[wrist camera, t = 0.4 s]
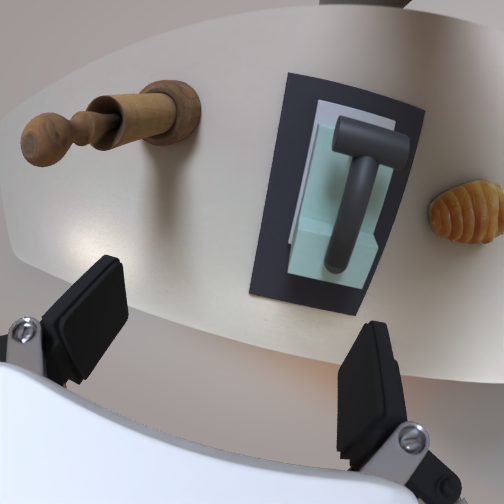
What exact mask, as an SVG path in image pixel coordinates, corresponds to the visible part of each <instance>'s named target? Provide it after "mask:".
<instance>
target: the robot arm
mask: <svg viewBox="0 0 504 504" xmlns="http://www.w3.org/2000/svg"><path fill="white" fill-rule="evenodd" d="M128 315H129V314H128V306H127V298H126V290H125V282H124V273H123V265H122V263H120V260H119V259H118V258H116V257H112V256H109V255H104V256H103V257H101V258H100V259H99V260H98V261H97V262H96V263H95V264H94V265H93V266H92V267H91V268H90V269H89V270H88V271H87V272H86V273H84V274H83V275H82V276H81V277H80V278H79V279H78V280H77V281H76V282H75V283H74V284H73V285H72V286H71V287H70V288H69V289H68V290H67V291H66V292H65V293H64V294H63V295H62V296H61V297H60V298H59V299H58V300H57V301H56V303H54V305H53V306H52V307H51V308H50V309H49V310H48V311H47V312H46V313H45V314H44V315H43V316H42V320H41V321H40V322H39V321H38V320H36V319H35V318H32V317H24V318H20V319H19V320H17V321H15V322H14V323H13V324H12V326H11V327H10V329H9V332H8V334H7V335H3V336H0V504H468V503H467V501H466V500H465V498H463V499H461V498H460V495H461V490H462V486H461V482H460V479H459V478H458V476H457V475H456V474H455V473H454V472H452V471H451V470H450V469H449V468H448V467H447V466H446V465H445V464H443V463H442V462H441V461H440V460H439V459H438V458H437V457H436V456H435V455H433V454H432V453H431V452H430V451H429V450H428V449H429V446H430V438H429V434H428V432H427V431H426V429H425V428H424V427H423V426H422V425H420V424H419V423H416V422H412V421H407V414H406V407H405V401H404V394H403V388H402V382H401V377H400V371H399V366H398V363H397V361H396V360H394V357H393V352H392V347H391V342H390V338H389V333H388V329H387V325H386V323H383V322H378V321H373V320H372V321H370V322H369V324H367V323H365V324H364V326H363V327H362V329H361V331H360V333H359V335H358V337H357V339H356V340H355V342H354V344H353V346H352V348H351V349H350V351H349V353H348V355H347V356H346V358H345V360H344V362H343V363H342V365H341V367H340V369H339V372H338V418H337V451H339V452H341V453H340V459H350V466H351V468H349V469H348V470H347V471H345V470H336V469H325V468H317V467H309V466H301V465H295V464H288V463H282V462H275V461H270V460H265V459H259V458H254V457H250V456H245V455H240V454H236V453H232V452H228V451H224V450H220V449H216V448H212V447H208V446H205V445H202V444H198V443H195V442H192V441H189V440H185V439H182V438H179V437H176V436H173V435H170V434H167V433H165V432H161V431H159V430H156V429H154V428H151V427H148V426H146V425H143V424H141V423H138V422H136V421H133V420H131V419H128V418H126V417H124V416H121V415H119V414H117V413H115V412H112V411H110V410H108V409H106V408H103V407H102V406H99V405H97V404H95V403H93V402H91V401H89V400H87V399H85V398H83V397H81V396H79V395H77V394H75V393H73V392H72V391H70V390H68V389H67V388H66V382H67V381H68V379H69V380H71V381H73V382H75V383H77V384H80V383H81V382H82V380H83V379H84V380H86V379H87V378H88V376H89V375H90V374H91V372H92V371H93V369H94V368H95V366H96V365H97V363H98V362H99V360H100V359H101V357H102V356H103V354H104V353H105V351H106V350H107V348H108V347H109V346H110V344H111V343H112V341H113V340H114V338H115V337H116V336H117V334H118V333H119V331H120V330H121V329H122V327H123V326H124V324H125V323H126V321H127V319H128Z"/></svg>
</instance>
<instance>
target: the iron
mask: <svg viewBox="0 0 504 504" xmlns="http://www.w3.org/2000/svg"><path fill="white" fill-rule="evenodd" d="M395 123H396V121H394V120H391V119H388V118H384V117H381V116H378V115H375V114H372V113H368V112H365V111H361V110H358V109H354V108H350V107H347V106H343V105H339V104H335V103H331V102H327V101H322V100H318V104H317V109H316V114H315V119H314V124H313V129H312V134H311V139H310V144H309V149H308V154H307V159H306V163H305V168H304V173H303V177H302V182H301V187H300V191H299V196H298V200H297V205H296V209H295V214H294V218H293V223H292V227H291V231H290V236H289V240H288V243H289V244H291V251H290V257H289V264H288V271H287V273H290V274H295V275H299V276H304V277H308V278H313V279H317V280H322V281H327V282H331V283H336V284H340V285H345V286H350V287H354V288H359V289H362V288H363V285H364V283H365V281H366V278H367V276H368V273H369V271H370V268H371V266H372V263H373V261H374V258H375V256H376V253H377V250H378V245H377V243H376V240H375V238H374V235H373V233H374V230H375V227H376V224H377V221H378V218H379V215H380V212H381V209H382V206H383V203H384V199H385V196H386V193H387V190H388V186H389V183H390V180H391V176H392V173H393V169H396V170H401V169H402V168H403V167H404V165H405V163H406V161H407V158H408V155H409V150H410V140H409V137H408V136H407V135H405V134H402V133H399V132H396V131H394V127H395Z"/></svg>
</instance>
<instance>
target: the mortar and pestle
mask: <svg viewBox="0 0 504 504" xmlns="http://www.w3.org/2000/svg"><path fill="white" fill-rule="evenodd" d="M200 114H201V105H200V100H199V97H198V95H197V93H196V92H195V90H194V89H193V88H192V87H191V86H189V85H188V84H186V83H184V82H181V81H175V80H161V81H156V82H153V83H151V84H149V85H148V86H146V87H145V88H144V89H143V90H142V91H141V92H140V93H139V94H124V95H106V96H100V97H97V98H95V99H94V100H93V101H92V102H91V103H90V104H89V105H88V107H87V109H86V111H80V112H77V113H76V114H74V115H73V117H72V118H71V120H67V119H66V118H64V117H62V116H61V115H59V114H56V113H43V114H40V115H38V116H36V117H35V118H33V119H32V120H31V121H30V122H29V123H28V124H27V125H26V127H25V129H24V130H23V133H22V136H21V150H22V153H23V156H24V157H25V159H26V160H27V161H28V162H29V163H30V164H32V165H34V166H38V167H47V166H51V165H53V164H55V163H57V162H58V161H60V160H61V159H62V158H63V156H64V155H65V154H66V152H67V151H68V149H69V148H70V146H71V145H72V143H75V144H76V145H78V146H85V145H87V144H89V143H90V145H91V146H93V147H94V148H95V149H97V150H101V151H107V150H110V149H113V148H116V147H118V146H121V145H124V144H127V143H130V142H133V141H136V140H140V139H143V140H144V141H146V142H148V143H150V144H152V145H157V146H165V145H170V144H173V143H176V142H179V141H181V140H183V139H185V138H186V137H188V136H189V135H190V134H191V133H192V132H193V130H194V129H195V128H196V126H197V124H198V122H199V119H200Z"/></svg>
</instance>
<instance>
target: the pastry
mask: <svg viewBox="0 0 504 504" xmlns="http://www.w3.org/2000/svg"><path fill="white" fill-rule="evenodd" d="M429 220H430V223H431V228H432V229H433V231H434V232H435V233H436V234H437V235H438V236H440V237H444V238H447V239H449V240H450V241H458V242H460V243H468V244H478V243H480V242H482V243H484V244H487V243H489V242H491V241H492V240H493V239H494V238H495V237H497V236H499V235H501V234H504V192H503V190H502V188H501V186H500V185H498V184H496V183H493V182H490V181H488V180H484V179H482V180H473V181H471V182H468V183H465V184H462V185H459V186H457V187H455V188H453V189H450V190H448V191H446V192H444V193H441V194H440V195H439V196H438V197H437V198H436V199H434V200H433V201H432V203H431V205H430V207H429Z"/></svg>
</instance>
